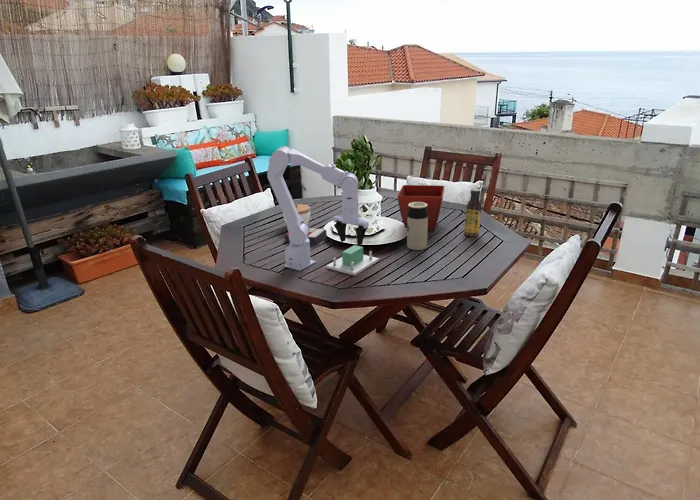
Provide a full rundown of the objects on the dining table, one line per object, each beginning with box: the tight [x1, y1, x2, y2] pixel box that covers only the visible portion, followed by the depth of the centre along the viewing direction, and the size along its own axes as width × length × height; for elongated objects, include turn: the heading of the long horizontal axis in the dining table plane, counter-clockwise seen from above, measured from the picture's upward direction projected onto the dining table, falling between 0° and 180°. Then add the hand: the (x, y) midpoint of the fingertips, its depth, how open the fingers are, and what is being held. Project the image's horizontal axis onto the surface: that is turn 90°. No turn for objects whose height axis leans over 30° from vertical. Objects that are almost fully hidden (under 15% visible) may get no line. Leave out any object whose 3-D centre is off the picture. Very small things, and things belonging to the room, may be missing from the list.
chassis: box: [325, 250, 380, 276], centre depth 181 cm, size 16×13×4 cm
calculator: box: [284, 227, 328, 246], centre depth 209 cm, size 11×4×15 cm
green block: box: [341, 244, 364, 266], centre depth 181 cm, size 8×4×5 cm, turn 145°
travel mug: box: [406, 202, 428, 251], centre depth 193 cm, size 8×8×18 cm
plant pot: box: [397, 184, 445, 232], centre depth 217 cm, size 19×19×17 cm
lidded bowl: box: [282, 203, 311, 225], centre depth 224 cm, size 13×13×11 cm
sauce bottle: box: [463, 188, 482, 237], centre depth 204 cm, size 7×6×20 cm
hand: (351, 243), depth 180 cm, fingers open, 7 cm apart
